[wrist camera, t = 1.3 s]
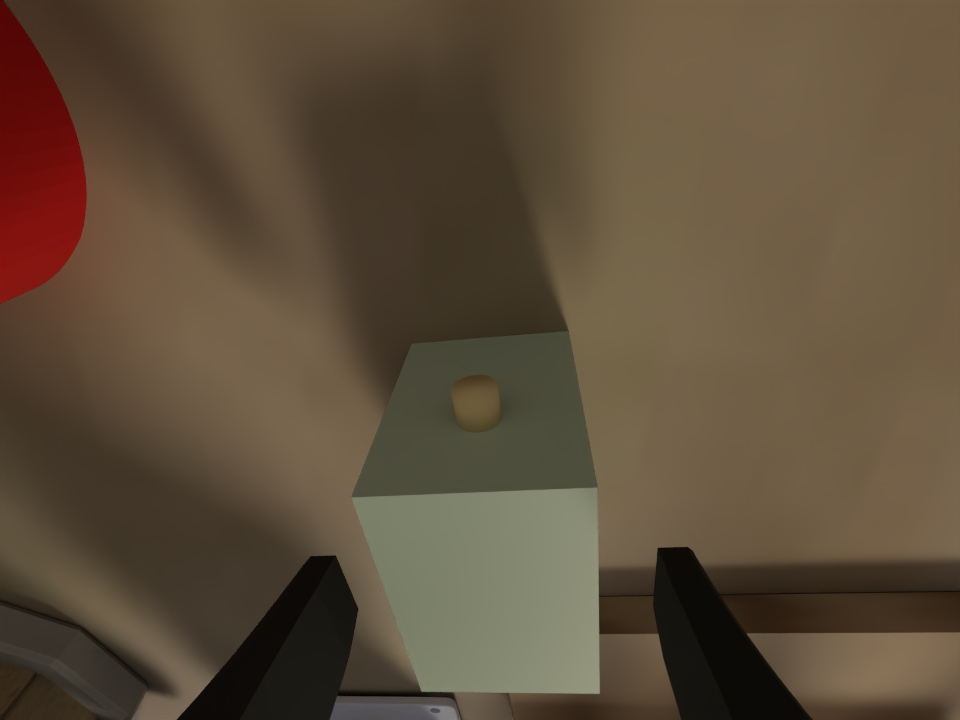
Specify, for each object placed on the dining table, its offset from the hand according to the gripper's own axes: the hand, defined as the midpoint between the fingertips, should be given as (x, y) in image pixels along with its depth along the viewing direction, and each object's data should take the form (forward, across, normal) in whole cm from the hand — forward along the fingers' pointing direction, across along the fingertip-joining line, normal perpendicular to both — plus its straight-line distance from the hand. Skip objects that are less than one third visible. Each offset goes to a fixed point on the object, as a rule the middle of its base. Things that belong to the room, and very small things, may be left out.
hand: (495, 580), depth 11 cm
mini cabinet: (+5, 0, 0) cm, 5 cm away
